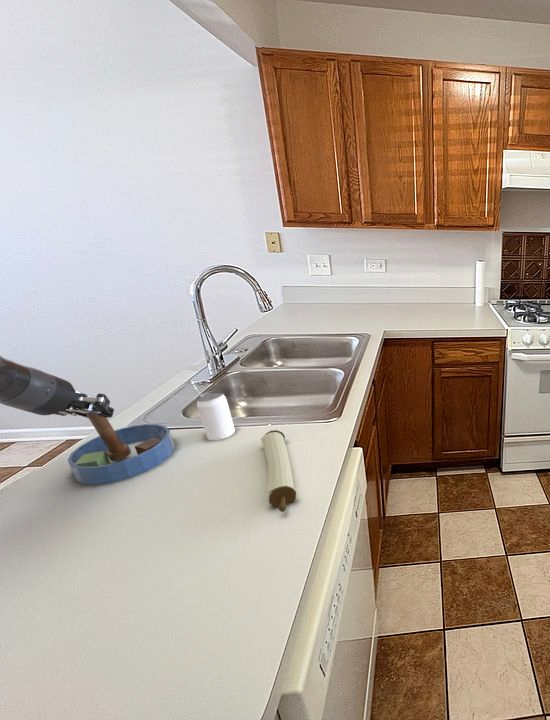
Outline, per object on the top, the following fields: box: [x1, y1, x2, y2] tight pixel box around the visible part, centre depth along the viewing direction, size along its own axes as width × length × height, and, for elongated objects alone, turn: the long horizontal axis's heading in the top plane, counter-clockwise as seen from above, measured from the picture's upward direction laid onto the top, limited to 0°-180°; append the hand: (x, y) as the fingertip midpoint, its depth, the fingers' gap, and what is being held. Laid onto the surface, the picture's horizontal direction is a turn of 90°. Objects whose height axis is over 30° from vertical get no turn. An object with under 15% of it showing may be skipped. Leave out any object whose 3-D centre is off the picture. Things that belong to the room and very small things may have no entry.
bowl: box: [67, 423, 175, 486], centre depth 94 cm, size 18×18×5 cm
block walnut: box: [134, 438, 162, 455], centre depth 95 cm, size 4×4×4 cm
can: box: [196, 390, 236, 441], centre depth 104 cm, size 6×6×12 cm
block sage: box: [75, 451, 112, 467], centre depth 90 cm, size 4×4×4 cm
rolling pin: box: [260, 429, 297, 513], centre depth 90 cm, size 32×6×5 cm, turn 29°
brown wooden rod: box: [85, 404, 132, 462], centre depth 90 cm, size 4×4×15 cm
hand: (102, 413), depth 90 cm, fingers closed on brown wooden rod, 2 cm apart
